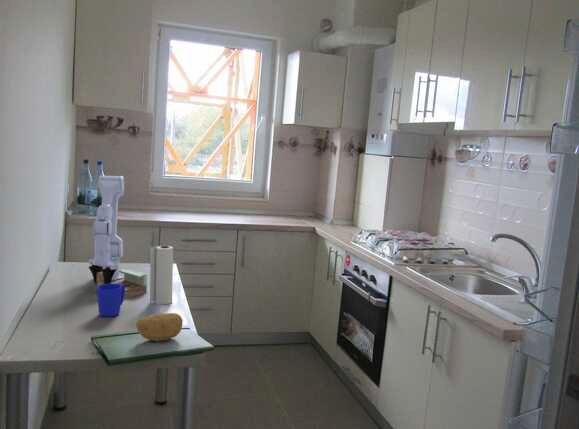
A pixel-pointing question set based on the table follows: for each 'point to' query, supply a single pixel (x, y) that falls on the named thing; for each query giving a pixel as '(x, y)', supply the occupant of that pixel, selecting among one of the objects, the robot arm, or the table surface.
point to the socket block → (132, 288)
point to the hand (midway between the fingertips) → (102, 284)
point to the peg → (100, 278)
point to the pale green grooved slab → (134, 277)
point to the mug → (110, 299)
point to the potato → (160, 326)
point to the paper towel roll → (161, 274)
